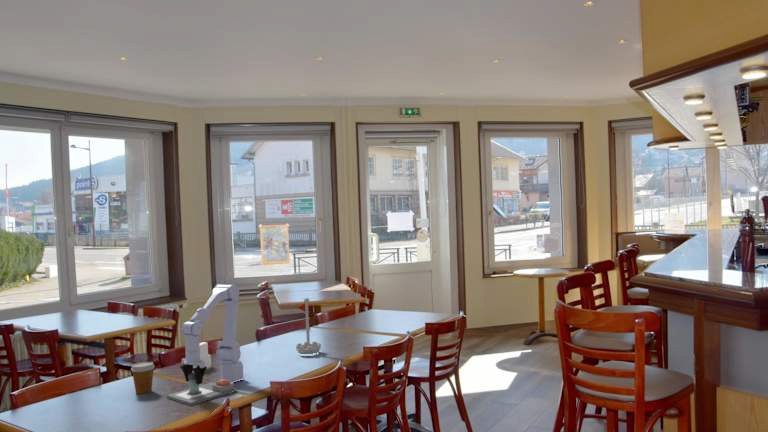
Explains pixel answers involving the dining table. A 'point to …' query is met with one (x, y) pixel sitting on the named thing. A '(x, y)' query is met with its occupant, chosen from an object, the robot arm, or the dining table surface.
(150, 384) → the disposable coffee cup
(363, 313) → the dining table surface
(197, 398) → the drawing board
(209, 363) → the base with upright slab
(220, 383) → the button
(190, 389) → the salt shaker
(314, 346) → the flag stand
